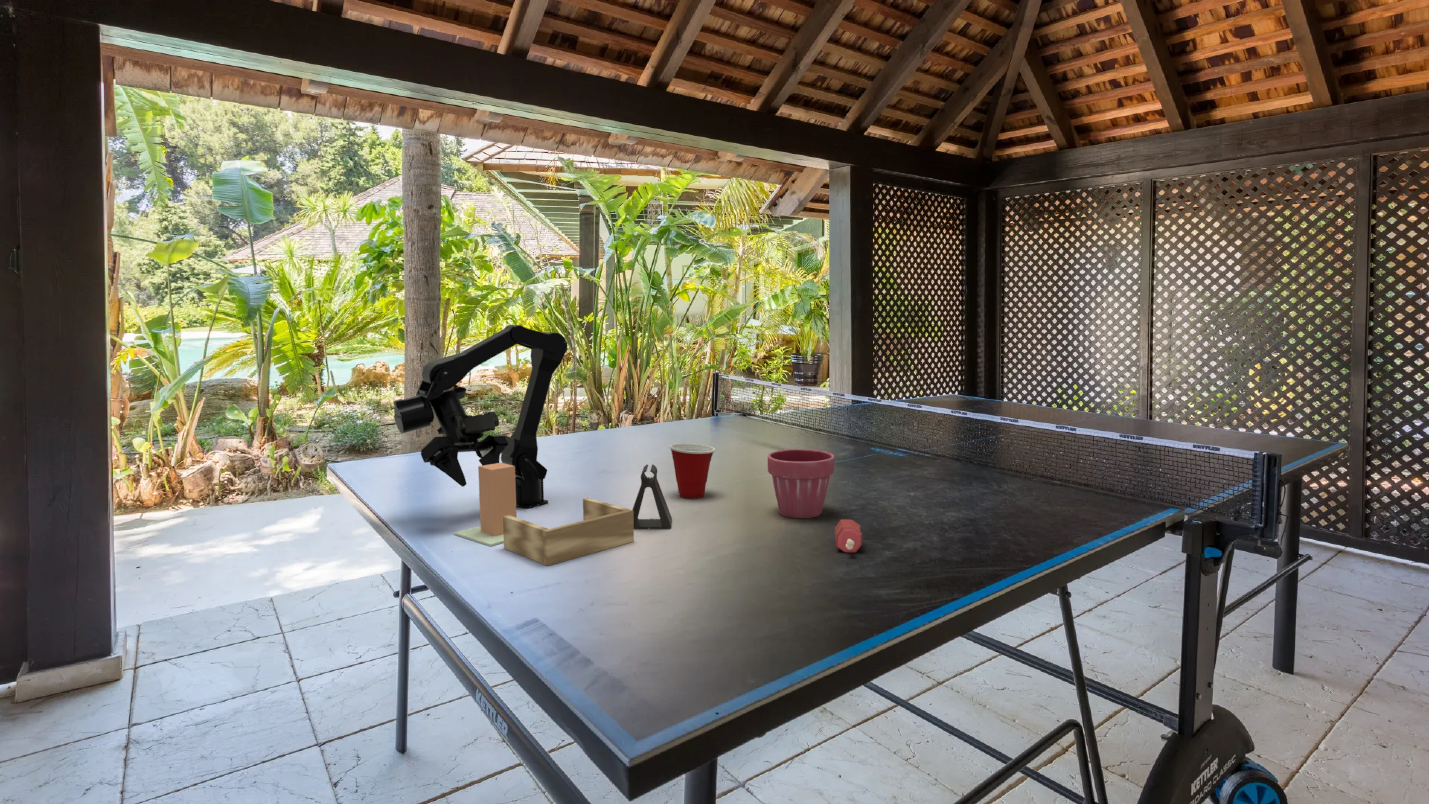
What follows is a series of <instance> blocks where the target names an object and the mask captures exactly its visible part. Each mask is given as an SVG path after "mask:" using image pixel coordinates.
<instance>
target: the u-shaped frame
mask: <svg viewBox="0 0 1429 804" xmlns="http://www.w3.org/2000/svg"><path fill="white" fill-rule="evenodd" d="M582 517H583V519H582V520H581V521H575V522H572V523H568V524H564V525H560V526H555V527H552V528H551V527H550V528H548V527H546V526H545V527H544V526H541V525H538V524H536V523H533V522H530V521H527V520H524V519H522V518H518V517H517V518H516V517H513V516H510V515H507V516H503V533H504V543H503V548H504V549H506V550H508V551H511V552H513V553H516V554H518V555H521V556H523V557H526V558H528V559H530V560H532V561H535V562H537V563H539V564H540V563H541V564H542V565H545V566H551V565H552V566H553V565H555V564H558V563H562V562H563V563H564V562H566V561H569V560H573V559H576V558H581V557H584V556H586V555H590V554H595V553H597V552H601V551H605V550H608V549H612V548H615V547H618V546H619V547H620V546H623V545H626V544H629V543H630V544H631V543H633V542H635V533H634V532H635V529H634V514H633V510H632V509H631V508H630V509H629V508H625V507H622V506H618V505H615V504H611V503H608V502H605V501H601V500H597V499H593V498H589V497H585V498H582Z"/></svg>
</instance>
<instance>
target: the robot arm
mask: <svg viewBox="0 0 1429 804" xmlns="http://www.w3.org/2000/svg"><path fill="white" fill-rule="evenodd" d="M516 345H519V346H521V347H524V348H527V349H530V362H531V363H530V364H531V373H530V376H529V379H528V382H527V383H528V384H527V386H526V389H525V390H526V391H525V395H524V398H523V401H522V405H521V409H520V412H519V415H518V421H517V423H516V428H515V430H514V431H513V432H512V434H511V435H510V436H508V435H504V434H489V435H487V436H486V437H484V438H483V436H485V435H484V433H486V432H490V431H495V430H496V427H499V425H500V419H499V416H498V415H497V414H496V412H495V411H487V412H484V413H483V414H476V415H472V414H469V415H468V414H467V413H466V410H465V408H464V406H463V404H462V401H461V399H464V398H465V396H466V393H467V388H466V387H464V386H459V385H458V384H459V383H460V382H461V381H462V380H463V379H465V377H466V376H467V375H469V373H470V372H471V371H472V370H473V369H475V368H476V367H478V366H480V365H483V364H484V363H485V362H487V361H489V360H491V359H492V358H494V357H496V356H498V355H499V354H502V353H503V352H505V351H507V350H508V349H510V348H512V347H514V346H516ZM567 350H568V341H567V340H566V337H564V335H563V334H560V333H559V332H548V331H537V330H534V329H530V328H528V327H526V326H522V325H521V324H508V325H506V326H505V328H503V329H501V330H500V331H498V332H496V333H493V334H492V335H490V336H488V337H486V338H484V339H483V340H481V341H479V342H477V343H475V344H474V345H472V346H469V347H468V348H467V349H465V350H463V351H461V352H459V353H454V354H452V355H448V356H447V355H446V356H444V357H441V358H437V359H435V360H432V361H429V362H428V363H426V364H425V365H424V366H423V368H422V372H421V375H422V376H421V378H422V380H421V382H420V385H419V386H418V389H417V392H416V394H415V395H414V396H412V397H409V398H403V399H401V398H400V399H395V400H394V401H393V413H394V415H393V419H394V422H395V424H396V428H397V429H398V431H399V433H400V434H407V433H410V432H414V431H417V430H420V429H423V428H426V427H430V426H431V423H433V422H434V420H435V418H436V419H437V422H438V425H439V426H440V427H439V428H438V429H437V430H436V431H437V433H438V435H443V436H435V437H433V438H431V440H430V441H429V442H427V443H426V444H425V445H424V446H423V447H422V448H421V450H420V451H421V452H420V456H421V458H422V460H423V463H429V465H430V466H434V467H436V468H437V469H438V470H440V471H441V472H442V473H444V474H446V475H447V476H448V477H450V479H451V480H453V481H454V482H455V483H456V484H457V485H460V487H465V486H466V485H467V481H466V477H465V474H464V471H463V470H462V467H461V464H460V462H459V458H458V457H459V456H458V455H459V453H466V452H467V453H469V452H470V453H471V452H475V455H476V456H477V457H478V458H479V459H478V462H479V463H480V465H481V466H483V465H490V464H496V463H500V460H501V463H505V464H508V465H512V466H515V485H516V507H519V508H524V509H529V508H533V507H536V506H540V505H544V504H548V503H549V500H548V499H545V496H544V495H545V494H544V492H545V491H544V490H545V489H544V480H545V479H546V477H547V474H548V473H547V472H548V469H547V468H546V467H545V466H544V465H543V464H541V463H540V462H539V460H538V451H539V450H538V449H539V448H538V438H537V433H538V429H539V426H540V422H541V419H542V414H543V412H544V408H545V404H546V400H547V396H548V392H549V389H550V386H551V381H552V377H553V375H554V373H555V371H556V370H557V369H558V368H559V366H560V365H561V363H562V362H563V360H564V357H565V354H567ZM481 438H483V439H482V440H481V441H479V439H481Z"/></svg>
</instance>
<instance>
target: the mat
mask: <svg viewBox="0 0 1429 804" xmlns="http://www.w3.org/2000/svg"><path fill="white" fill-rule="evenodd" d="M453 535H454V536H457V537H461V538H462V539H463V538H464V539H467V540H470V541H473V542H475V543H480V544H482V545H485V546H488V547H493V546H496V545H501V544H504V534H503V535H498V536H492V535H489V534H486V533H484V532H481V525H478V526H474V527H471V528H470V527H469V528H467V529H462V530H458V531H455V532H454V533H453Z"/></svg>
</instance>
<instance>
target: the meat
mask: <svg viewBox="0 0 1429 804" xmlns="http://www.w3.org/2000/svg"><path fill="white" fill-rule="evenodd" d="M834 539H835V547H837V548H838V549H839V550H841V551H842V552H843V553H854V554H855V553H857V551H858V550H859V549H860V548H861V547H862V545H863V533H862V531H861V524H859V523H857V522H856V521H855V520H853V519H845V518H844V519H843V518H842V519H839V521H838V523H837V524H836V525H835V527H834Z"/></svg>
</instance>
